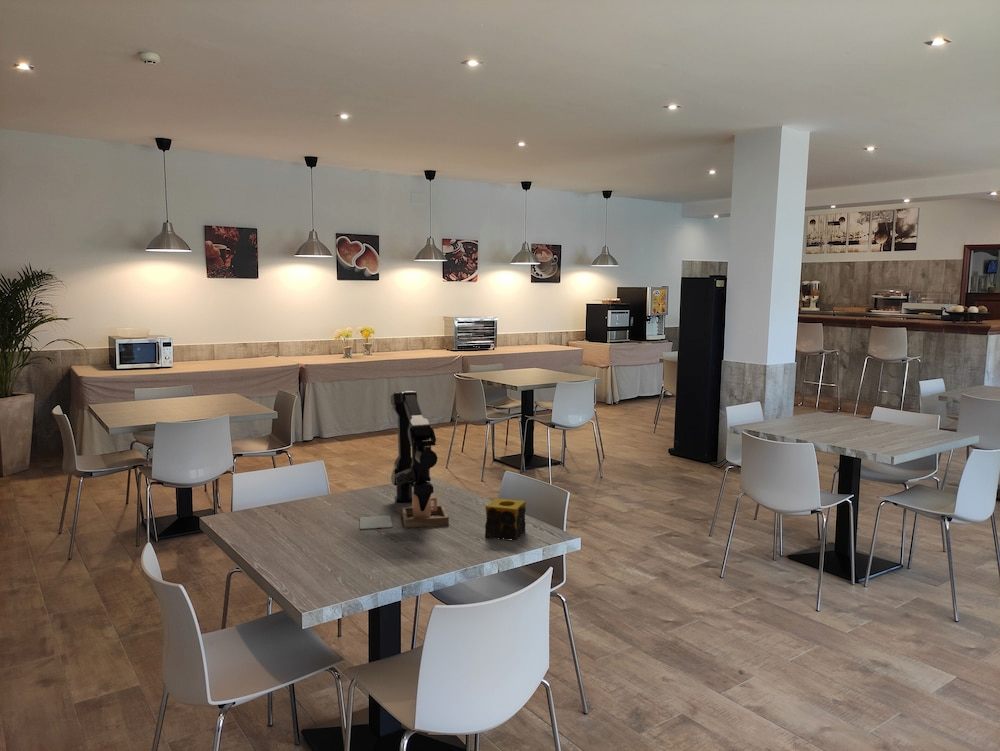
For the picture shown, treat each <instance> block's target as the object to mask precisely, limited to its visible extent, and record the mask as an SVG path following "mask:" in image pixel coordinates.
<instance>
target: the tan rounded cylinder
mask: <svg viewBox="0 0 1000 751" xmlns="http://www.w3.org/2000/svg"><path fill="white" fill-rule="evenodd" d="M431 496H432V495H431ZM431 496H430V498H429V500H428V503H427V505H426V508H425V510H424V511H421V509H420V504H419V500H418V496H417V495H415V494H414V493H413V491H412V501H411V502H412V503H411V504H412V506H411V507H412V510H413V515H412V519H417V518H432V514H431V511H437V506H438V498H437V496H434V497H431ZM432 501H433V506H434V508H431V506H432V503H431V502H432Z"/></svg>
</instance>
